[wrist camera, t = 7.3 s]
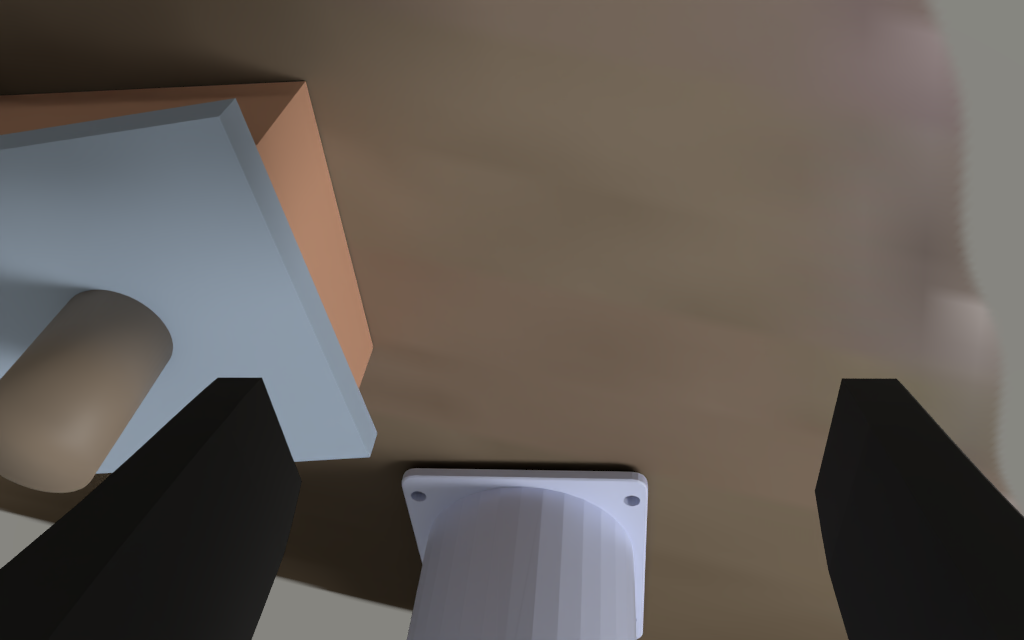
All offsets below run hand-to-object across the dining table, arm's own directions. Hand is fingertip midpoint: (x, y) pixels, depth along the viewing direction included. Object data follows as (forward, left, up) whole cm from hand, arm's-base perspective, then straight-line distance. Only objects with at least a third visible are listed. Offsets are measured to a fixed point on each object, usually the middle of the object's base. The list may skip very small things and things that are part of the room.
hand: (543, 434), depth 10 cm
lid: (-3, +10, -6) cm, 12 cm away
